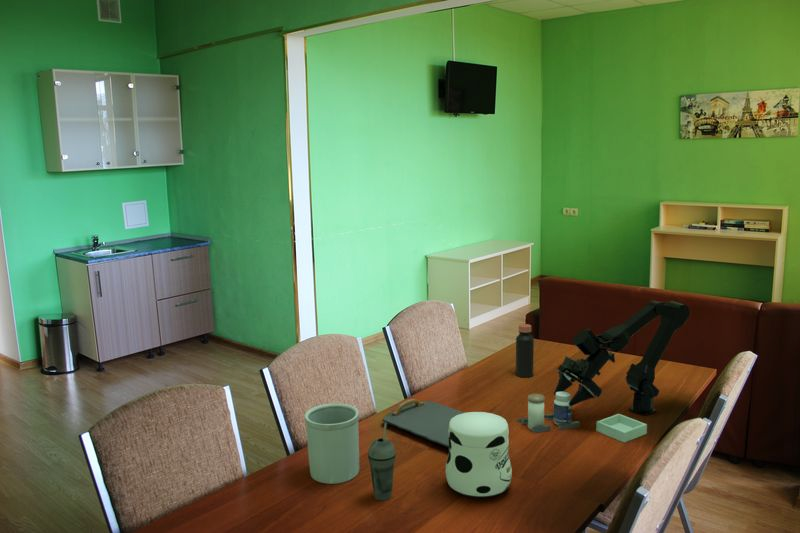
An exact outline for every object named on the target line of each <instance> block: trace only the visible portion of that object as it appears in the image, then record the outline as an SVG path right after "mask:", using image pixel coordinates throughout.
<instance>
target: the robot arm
mask: <svg viewBox="0 0 800 533" xmlns="http://www.w3.org/2000/svg"><path fill="white" fill-rule="evenodd" d="M658 316H660V324H659V326H658V328H657V330H656V332H655V334H654V336H653V338H652V340H651V341H650V343H649V345H648V347H647V349H646V351H645V352H644V354H643V356H642V358H641V359H640V361H639V362H638V363H636V364H635V363H631V365H630V366H629V369H628V371H627V372H626V373H625V374H626V377H625V381H626V384H627V386H628V387H629V390H631V391H633V392H634V393H633V399H632V406H631V407H628V408H629V410H630V411H632V412H635V413H637V414H640V415H643V416H647V415H650V414H652V413H656V412H657V408H654V398H655V397H658V396H659V393H660V390H659V388H657V386H656V385H655V384H654V381H655V378H656V377H655V376H656V375H655V374H656V373H655V370H656V367H657V365H658V364H659V361H660V360H661V357H662V356H663V355H664V352H665V351H666V348H667V346H668V344H669V343H670V341H671V339H672V337H673V335H674V333H676V331H677V330H678V329H679V328H682V327H683V326H684V325H685V323H686V322H687V321H688V319H689V318H690V316H691V310H690V308H689V306H688V305H685V304H683V303H680V302H676V301H674V300H670V301H666V302H663V301H656V300H650V301H648V302H647V303H646V304H645V305H644V306H643V307H642V308H641V309H640V310H637V312H636V313H635V314H633V315H632V316H630V317H629V318H628V319H627V320H625V321H624V322H623V323H621V324H619V325H615V326H613V327H610V328H609V329H607V330H605V331H603V332H602V333H601V334H597V335H595V334H594V332H593V331H592V330H591V329H589V328H585V329H584V330H581V331H580V332H578V333H576V334H575V335H574V337H573V338H572V343H573V345H574V346H575V347H576V348H577V349H578V350H579V351H581V353H582V354H583V355H584V356H586V357H585V359H584V358H580V359H577V360H576V359H574V358H571V357H569V356H565V357H564V360H563V361H562V364H560V365H559V366H558V367H557V368H556V369H557V373H558V377H559V379H558V382H557V385H556V387H555V390H554V392H553V395H554V397H555V396H556V392H561V391H563V392H566V390H567V389H569V388H570V387H571V386H573V385H574V384H573V383H574V382H577V383H578V390H577V391H576V392H575V394H574V395H573V396H572V397H571V398H570V400H571V401H570V402H569V405H570V406H572V407H573V406H575V405H577V404H579V403H583V402H584V401H587V400H591V399H595V398H599V397H600V396H601V395H602V392H603V389H602V388H601V387H600V386H599V385H598V384H597V383H596V382H595V381H594V380H593V379H594V378H595V377H596V376H597V377H599V376H600V375H601V373H602V372H600V371H601V369H603V367H604V366H605V365H606V364H607V363H608V362H612V363H613V364H615V362H616V358H615V353H619V352H621V351H623V350H624V349H625V348H626V346H628V345H629V342H630V340H631V338H632V337H633V336H634V335H635V334H636V333H637V332H640V330H641V329H643V328H644V327H645V326H647V325H648V324H649V323H651V322H652V321H653V320H654V319H655V318H657V317H658ZM601 346H602V347H601ZM609 351H611V352H609ZM613 352H614V353H613Z"/></svg>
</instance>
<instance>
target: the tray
mask: <svg viewBox="0 0 800 533" xmlns="http://www.w3.org/2000/svg"><path fill="white" fill-rule="evenodd" d="M595 427H596V429H595V431H596V432H598V433H599V434H603V435H605V436H608V437H610V438H611V439H615V440H617V441H620V442H622V443H627V442H630V441H632V440H634V439H637V438H639V437H642V436H644V435H647V433H648V431H647V430H648V424H647V423H644V422H642V421H639V420H637V419H635V418H631V417H628V416H627V415H623V414H621V413H616V414H614V415H611V416H609V417H606V418H602V419H600V420H597V421H596V426H595Z"/></svg>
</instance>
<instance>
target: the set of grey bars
mask: <svg viewBox="0 0 800 533" xmlns="http://www.w3.org/2000/svg"><path fill="white" fill-rule="evenodd" d="M553 416H554V412H553V413H547V414H544V419H545V420H547V421H552V420H553ZM515 421H516V422H517V423H518V422H521V424H522V425H528V416H527V417H521V418H516V419H515ZM580 423H581V422H580V421H579V420H576V421H575V420H574V421H571V422H568V423H562V424H558V425H557V426H558V430H567V429H572V428H578V427H579V428H580ZM551 428H552V426H551V424H544V426H538V427H532V429H531V433H533V434H537V433H543V432H550V431H552V430H551Z"/></svg>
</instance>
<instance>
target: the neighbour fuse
mask: <svg viewBox="0 0 800 533" xmlns="http://www.w3.org/2000/svg"><path fill="white" fill-rule="evenodd" d="M545 399H546V398H545V395H544V394H541V393H531V394H530V393H529V394H528V395H527V409H528V410H527V417H528V424H527V427H528V428H529V430H532V427H538V426H544V425H545V418H544V415H545Z"/></svg>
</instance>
